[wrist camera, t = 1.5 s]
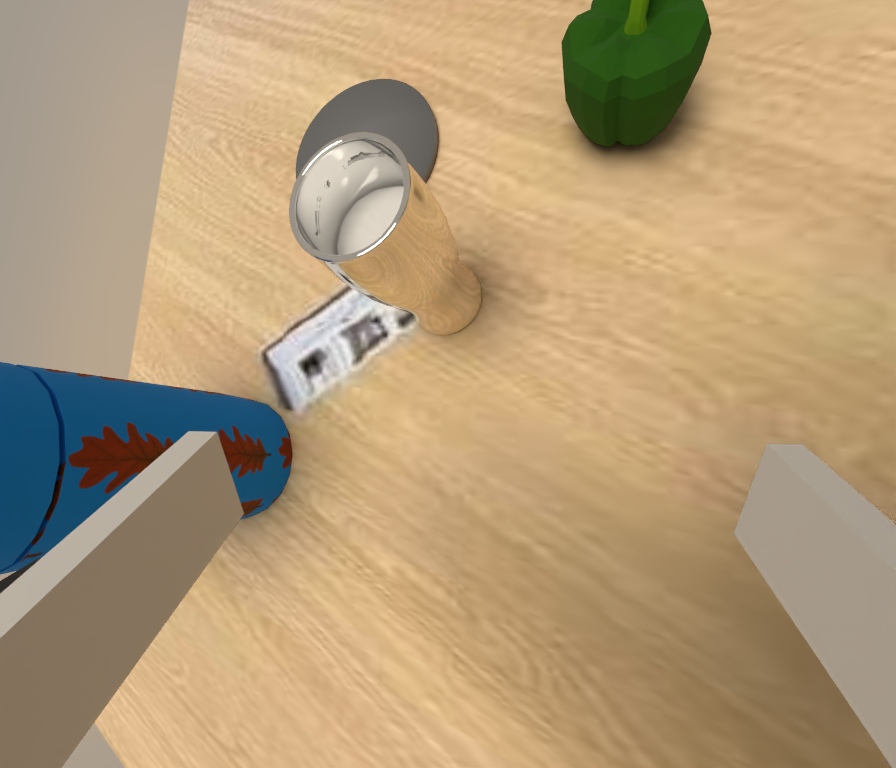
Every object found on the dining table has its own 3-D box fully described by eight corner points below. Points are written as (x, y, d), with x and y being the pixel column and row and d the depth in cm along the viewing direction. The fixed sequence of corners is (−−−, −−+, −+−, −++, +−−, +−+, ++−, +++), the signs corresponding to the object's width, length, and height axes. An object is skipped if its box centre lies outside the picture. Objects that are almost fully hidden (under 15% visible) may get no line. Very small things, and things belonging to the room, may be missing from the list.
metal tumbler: (470, 351, 33) (383, 280, 19) (394, 328, 35) (266, 250, 21) (499, 267, 33) (435, 134, 19) (422, 250, 35) (313, 120, 21)
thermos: (294, 392, 37) (-205, 303, 14) (294, 517, 36) (-276, 661, 12) (199, 404, 40) (-337, 348, 17) (195, 519, 39) (-408, 635, 15)
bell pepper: (631, 189, 31) (651, 76, 21) (545, 136, 33) (529, 15, 24) (715, 95, 30) (775, -67, 20) (620, 48, 32) (634, -114, 23)
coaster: (379, 58, 39) (375, 51, 39) (470, 144, 35) (467, 137, 34) (277, 167, 42) (271, 162, 41) (352, 260, 37) (347, 256, 37)
